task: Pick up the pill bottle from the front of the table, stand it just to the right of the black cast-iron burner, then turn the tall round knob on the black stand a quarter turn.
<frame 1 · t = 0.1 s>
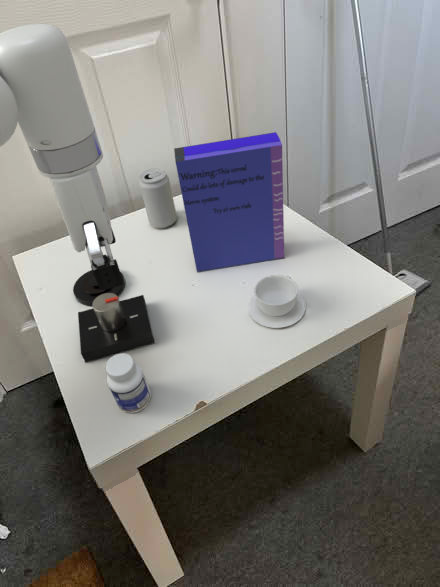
hand: (108, 264, 64), 19 cm above the table, tool pointing down, fingers open, 9 cm apart
teacup: (276, 309, 81), on the table
hob knob: (109, 311, 77), point 5 cm above the table, hinge at 0.0°
beverage can: (163, 222, 104), on the table
black stand: (117, 332, 81), on the table
burner: (100, 288, 90), on the table
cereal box: (239, 258, 92), on the table
pill bottle: (134, 399, 71), on the table
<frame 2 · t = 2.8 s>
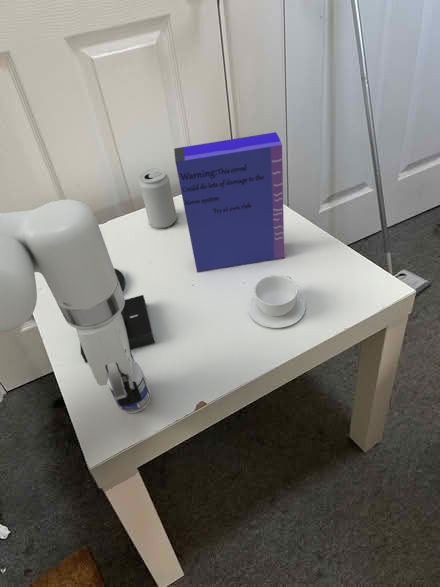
hand: (128, 384, 68), 4 cm above the table, tool pointing down, fingers closed on pill bottle, 5 cm apart
pill bottle: (134, 399, 71), on the table, touching gripper
everything else where it was.
when the fingers open (4 cm above the table, at t = 10.6 s): pill bottle stays where it is, on the table.
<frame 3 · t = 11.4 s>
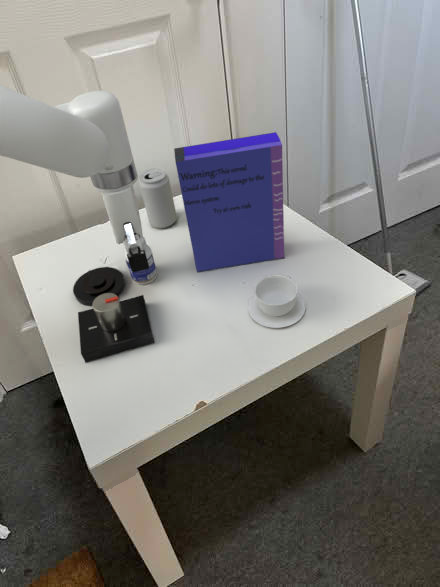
hand: (137, 254, 87), 6 cm above the table, tool pointing down, fingers open, 9 cm apart
pill bottle: (145, 277, 91), on the table
everything else where it was.
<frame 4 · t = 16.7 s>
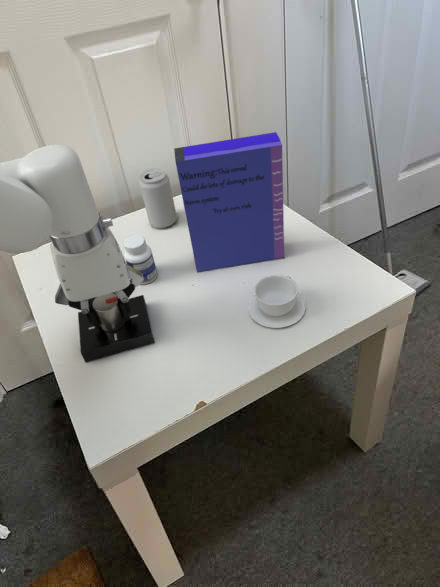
hand: (111, 318, 79), 4 cm above the table, tool pointing down, fingers closed on hob knob, 4 cm apart
hob knob: (109, 311, 77), point 5 cm above the table, hinge at -0.1°, touching gripper
everything else where it was.
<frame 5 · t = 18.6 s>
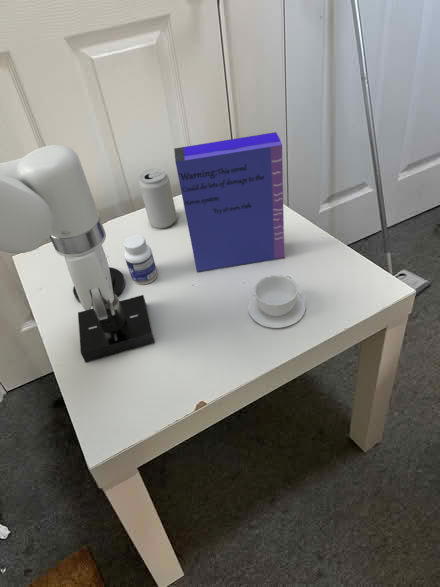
hand: (111, 318, 79), 4 cm above the table, tool pointing down, fingers closed on hob knob, 4 cm apart
hob knob: (109, 311, 77), point 5 cm above the table, hinge at 90.5°, touching gripper
everything else where it was.
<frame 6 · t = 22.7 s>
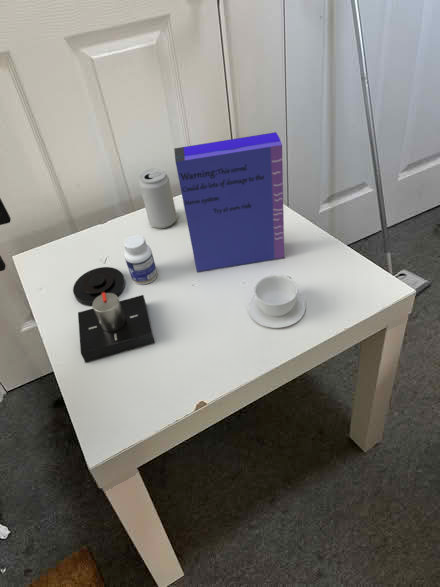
hob knob: (109, 311, 77), point 5 cm above the table, hinge at 92.4°
everything else where it was.
at the end: pill bottle inside the target area on the table beside the burner (0.8 cm from its centre), on the table; pill bottle tilted 0°; hob knob at +92° (first picture: +0°) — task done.
